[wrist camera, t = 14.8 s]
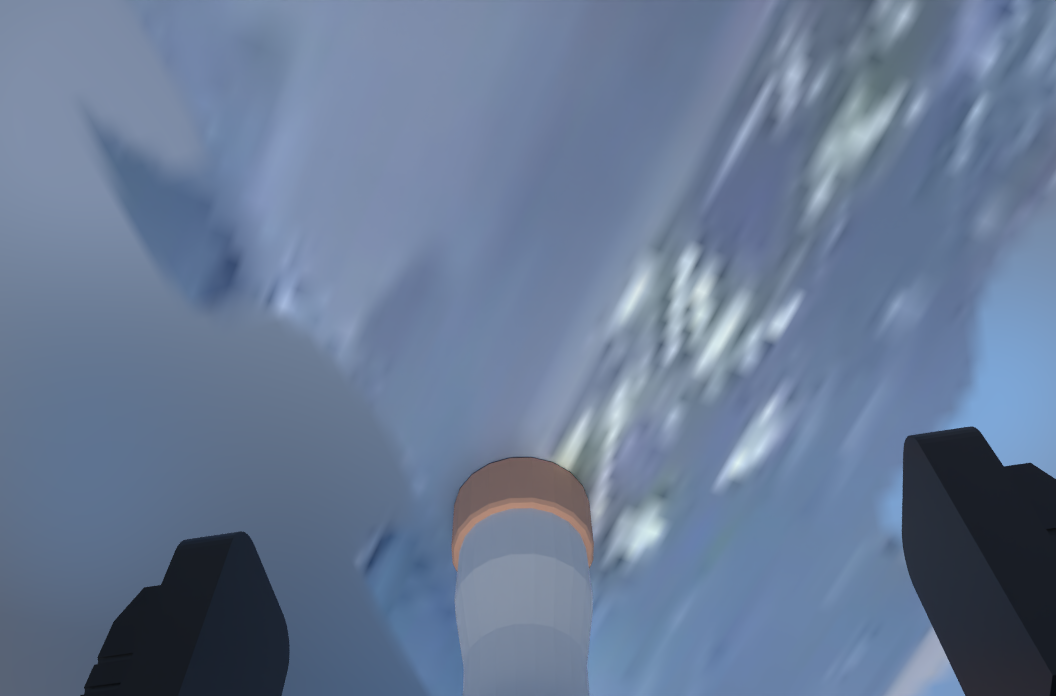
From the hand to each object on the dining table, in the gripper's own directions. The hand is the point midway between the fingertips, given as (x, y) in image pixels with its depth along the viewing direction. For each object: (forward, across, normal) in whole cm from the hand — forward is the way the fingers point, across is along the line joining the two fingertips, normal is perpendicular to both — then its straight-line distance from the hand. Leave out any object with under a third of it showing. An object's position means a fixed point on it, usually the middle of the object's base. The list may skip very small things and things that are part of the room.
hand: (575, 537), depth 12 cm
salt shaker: (+33, +5, +27) cm, 43 cm away
